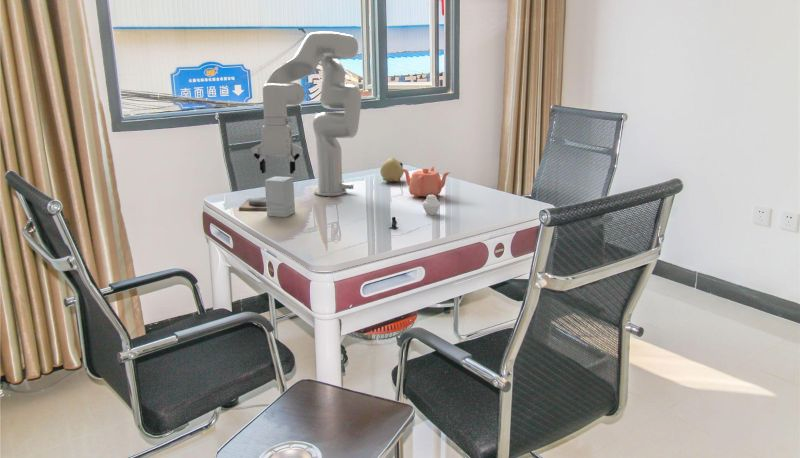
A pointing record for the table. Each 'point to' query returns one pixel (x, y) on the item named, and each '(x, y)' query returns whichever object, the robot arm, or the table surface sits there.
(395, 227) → the sculpture
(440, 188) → the teapot
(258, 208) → the brown square board
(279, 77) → the robot arm
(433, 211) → the muffin
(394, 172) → the pale yellow rounded lump
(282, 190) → the supplement box
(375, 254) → the table surface
